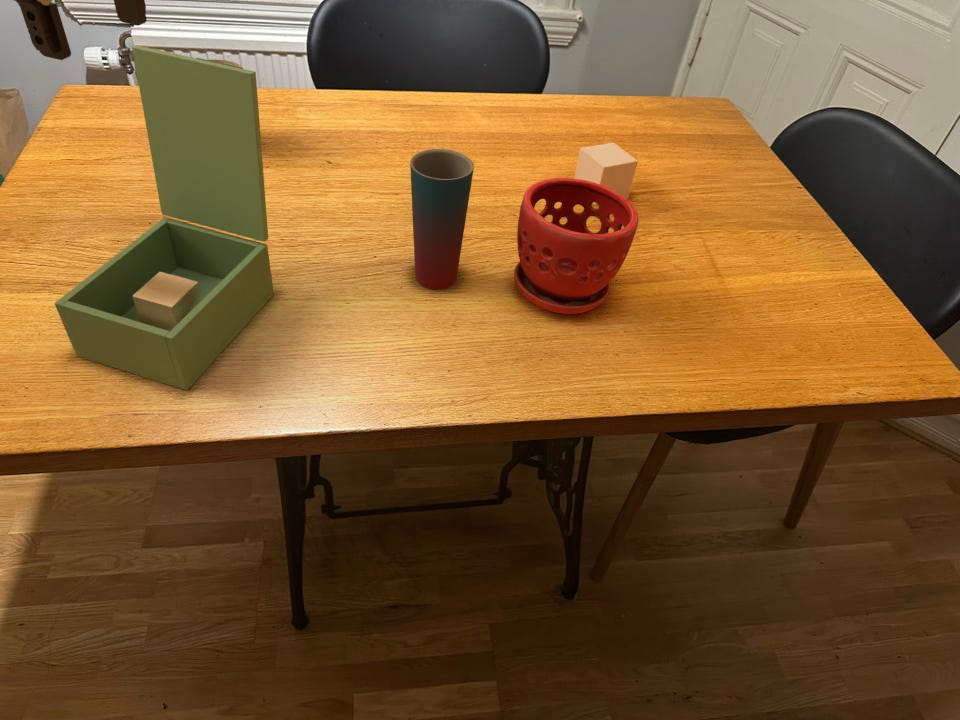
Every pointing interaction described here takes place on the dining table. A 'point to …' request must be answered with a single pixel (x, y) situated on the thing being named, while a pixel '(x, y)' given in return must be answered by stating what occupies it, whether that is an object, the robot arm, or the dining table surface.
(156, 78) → the lunchbox lid
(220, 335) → the box
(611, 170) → the beige cube
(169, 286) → the wooden block
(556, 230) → the flower pot
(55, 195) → the dining table surface
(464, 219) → the cup
